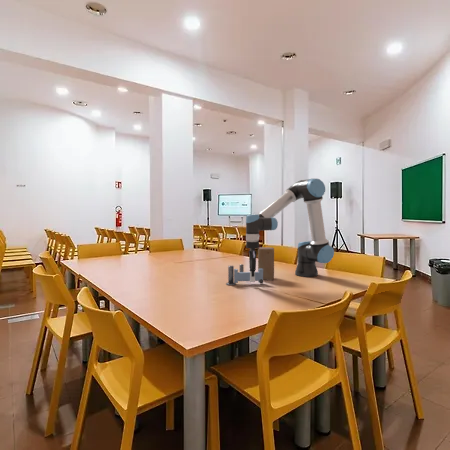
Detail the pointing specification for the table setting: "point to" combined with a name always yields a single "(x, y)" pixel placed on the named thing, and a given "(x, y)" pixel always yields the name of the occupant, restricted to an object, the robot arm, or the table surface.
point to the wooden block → (266, 262)
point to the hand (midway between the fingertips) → (252, 281)
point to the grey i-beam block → (248, 276)
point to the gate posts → (231, 274)
